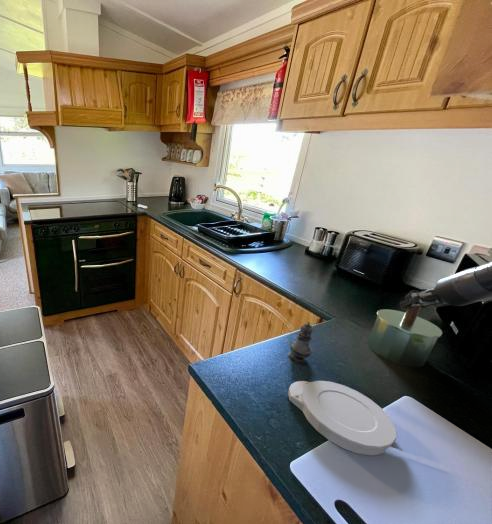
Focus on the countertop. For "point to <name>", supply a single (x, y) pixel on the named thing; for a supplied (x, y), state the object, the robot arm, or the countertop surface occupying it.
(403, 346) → the pot
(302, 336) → the grey chess piece
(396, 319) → the pot lid
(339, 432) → the lid
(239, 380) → the countertop surface
